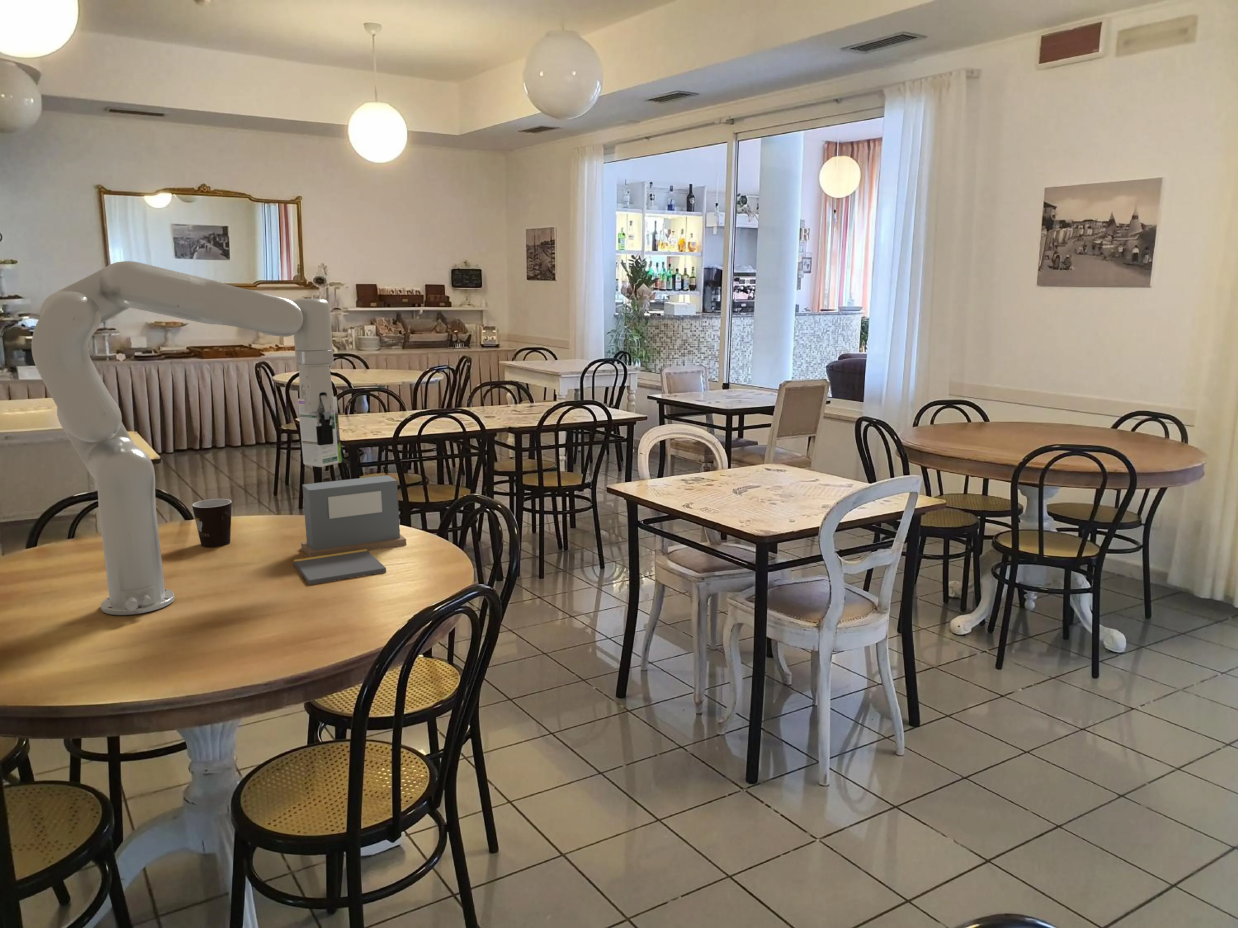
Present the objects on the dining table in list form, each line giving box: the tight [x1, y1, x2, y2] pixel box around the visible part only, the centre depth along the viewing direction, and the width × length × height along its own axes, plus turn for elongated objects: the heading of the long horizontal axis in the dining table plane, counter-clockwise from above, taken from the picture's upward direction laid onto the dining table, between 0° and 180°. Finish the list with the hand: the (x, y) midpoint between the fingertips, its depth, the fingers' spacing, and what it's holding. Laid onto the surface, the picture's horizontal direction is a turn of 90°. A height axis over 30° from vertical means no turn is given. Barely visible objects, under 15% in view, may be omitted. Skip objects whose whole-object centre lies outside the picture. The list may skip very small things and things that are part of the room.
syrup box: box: [297, 395, 343, 468], centre depth 192 cm, size 6×6×14 cm
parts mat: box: [293, 549, 387, 586], centre depth 196 cm, size 16×16×1 cm
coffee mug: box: [192, 498, 233, 549], centre depth 213 cm, size 12×9×10 cm
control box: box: [300, 474, 407, 558], centre depth 211 cm, size 10×22×16 cm, turn 120°
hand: (320, 441), depth 192 cm, fingers closed on syrup box, 7 cm apart
